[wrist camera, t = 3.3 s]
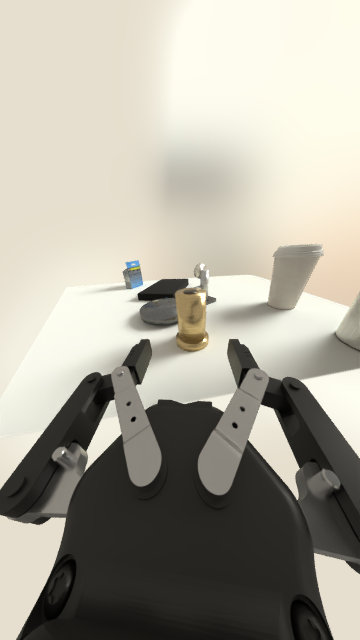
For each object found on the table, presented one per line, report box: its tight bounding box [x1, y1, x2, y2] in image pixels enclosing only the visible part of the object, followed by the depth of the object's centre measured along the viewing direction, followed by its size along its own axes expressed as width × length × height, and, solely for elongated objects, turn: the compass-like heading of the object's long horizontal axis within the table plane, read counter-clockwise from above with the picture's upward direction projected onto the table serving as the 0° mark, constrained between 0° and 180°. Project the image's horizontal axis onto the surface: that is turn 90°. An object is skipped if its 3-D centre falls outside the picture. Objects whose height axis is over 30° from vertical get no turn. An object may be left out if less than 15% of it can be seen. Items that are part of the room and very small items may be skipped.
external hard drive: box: [137, 279, 188, 301], centre depth 59 cm, size 14×23×3 cm, turn 164°
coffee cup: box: [268, 244, 324, 309], centre depth 35 cm, size 10×10×15 cm
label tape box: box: [123, 261, 143, 289], centre depth 68 cm, size 9×4×12 cm, turn 154°
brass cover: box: [175, 288, 208, 351], centre depth 25 cm, size 6×6×10 cm
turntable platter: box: [140, 298, 178, 324], centre depth 38 cm, size 14×14×2 cm
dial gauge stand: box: [194, 264, 216, 305], centre depth 41 cm, size 12×6×12 cm, turn 125°
